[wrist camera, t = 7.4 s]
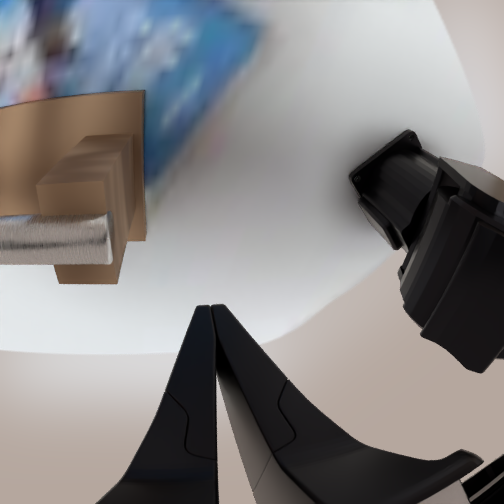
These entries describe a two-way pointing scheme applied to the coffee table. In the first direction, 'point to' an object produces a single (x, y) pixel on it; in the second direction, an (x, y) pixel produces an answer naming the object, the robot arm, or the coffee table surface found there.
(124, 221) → the stand
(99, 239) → the pipe
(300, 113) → the coffee table surface
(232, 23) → the coffee table surface
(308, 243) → the coffee table surface
